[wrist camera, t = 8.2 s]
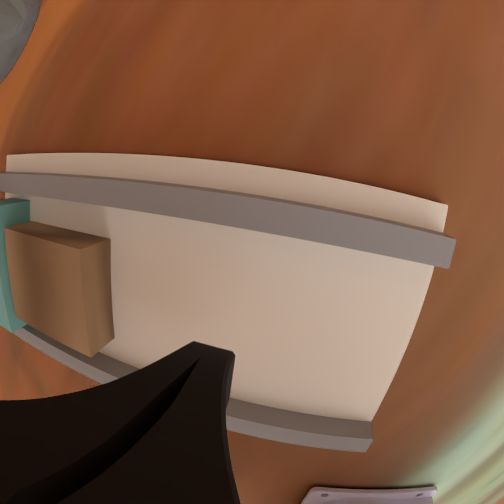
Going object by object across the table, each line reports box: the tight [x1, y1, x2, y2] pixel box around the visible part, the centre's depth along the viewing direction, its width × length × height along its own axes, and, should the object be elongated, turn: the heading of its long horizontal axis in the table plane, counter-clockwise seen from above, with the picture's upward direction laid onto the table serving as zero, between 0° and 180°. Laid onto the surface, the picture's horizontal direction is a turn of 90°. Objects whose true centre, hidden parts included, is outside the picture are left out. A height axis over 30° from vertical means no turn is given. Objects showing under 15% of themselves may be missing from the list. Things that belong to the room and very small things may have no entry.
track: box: [0, 153, 456, 452], centre depth 11 cm, size 22×12×3 cm, turn 82°
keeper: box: [4, 221, 115, 357], centre depth 12 cm, size 6×5×2 cm
